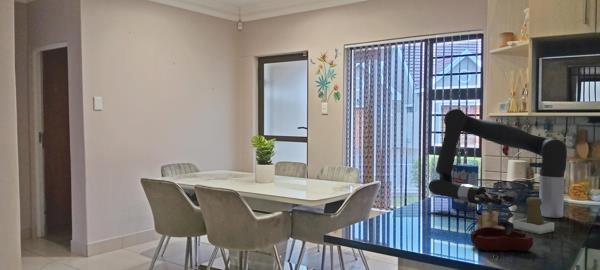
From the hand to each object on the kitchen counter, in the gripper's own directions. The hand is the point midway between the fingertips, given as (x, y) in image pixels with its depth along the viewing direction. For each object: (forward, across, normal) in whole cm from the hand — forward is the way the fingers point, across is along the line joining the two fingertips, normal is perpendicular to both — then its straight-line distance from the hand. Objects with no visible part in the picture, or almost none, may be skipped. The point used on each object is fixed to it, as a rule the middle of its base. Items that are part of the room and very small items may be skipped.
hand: (508, 201), depth 185 cm
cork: (+11, 0, +8) cm, 14 cm away
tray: (+11, -1, +9) cm, 14 cm away
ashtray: (+18, -36, +8) cm, 40 cm away
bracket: (+2, -14, +9) cm, 16 cm away
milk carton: (-28, +12, +11) cm, 32 cm away
